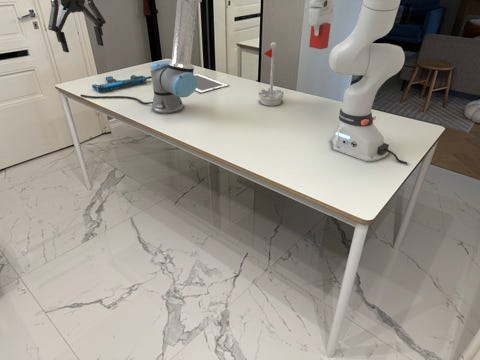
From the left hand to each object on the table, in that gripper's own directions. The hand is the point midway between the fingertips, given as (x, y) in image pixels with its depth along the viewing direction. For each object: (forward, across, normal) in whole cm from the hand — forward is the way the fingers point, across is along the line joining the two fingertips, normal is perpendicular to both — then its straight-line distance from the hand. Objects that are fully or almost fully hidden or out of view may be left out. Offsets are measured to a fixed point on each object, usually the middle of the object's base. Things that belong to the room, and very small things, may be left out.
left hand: (84, 48), depth 124 cm
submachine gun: (+36, -49, -59) cm, 85 cm away
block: (+8, -90, +49) cm, 103 cm away
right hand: (+2, -90, +49) cm, 103 cm away
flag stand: (+36, -80, +30) cm, 93 cm away
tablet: (+36, -80, -23) cm, 91 cm away
